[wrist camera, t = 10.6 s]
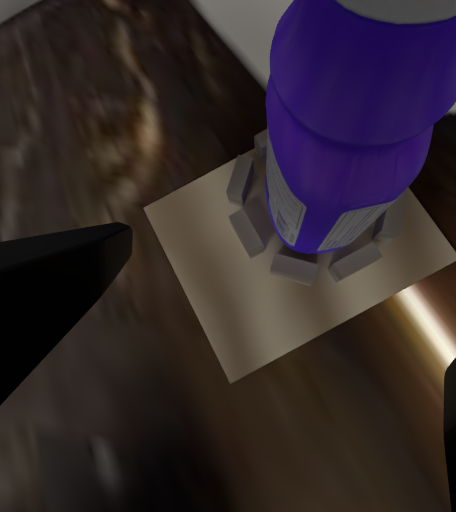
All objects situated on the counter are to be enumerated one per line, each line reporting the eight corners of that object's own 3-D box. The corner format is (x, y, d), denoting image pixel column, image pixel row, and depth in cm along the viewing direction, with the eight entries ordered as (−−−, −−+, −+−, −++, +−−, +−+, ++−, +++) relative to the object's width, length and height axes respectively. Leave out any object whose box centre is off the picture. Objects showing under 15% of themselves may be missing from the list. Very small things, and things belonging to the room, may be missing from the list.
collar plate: (231, 382, 22) (226, 389, 19) (146, 210, 25) (132, 197, 22) (454, 260, 22) (479, 250, 19) (342, 105, 25) (351, 79, 22)
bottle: (368, 251, 22) (717, -23, 5) (279, 268, 22) (325, 68, 5) (338, 149, 24) (526, -315, 7) (256, 167, 24) (237, -232, 7)
